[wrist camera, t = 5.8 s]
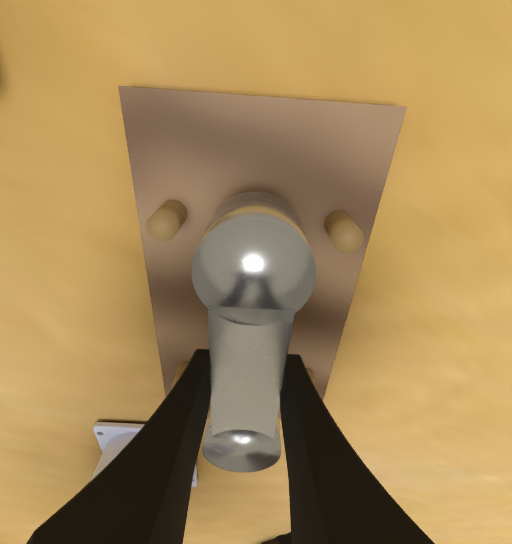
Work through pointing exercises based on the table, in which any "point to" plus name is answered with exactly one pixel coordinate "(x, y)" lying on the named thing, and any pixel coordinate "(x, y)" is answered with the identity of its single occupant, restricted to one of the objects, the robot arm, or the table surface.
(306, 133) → the board
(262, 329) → the silver ball-ended bar
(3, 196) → the table surface
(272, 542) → the dark brown rock
